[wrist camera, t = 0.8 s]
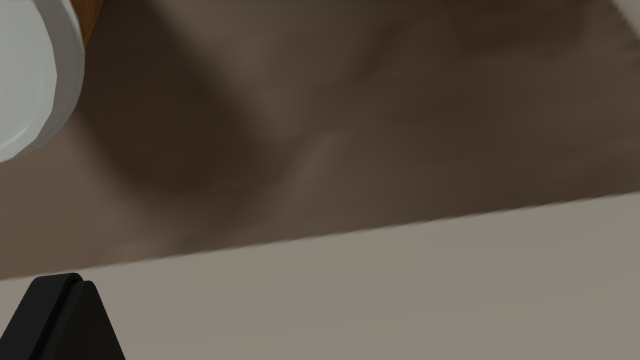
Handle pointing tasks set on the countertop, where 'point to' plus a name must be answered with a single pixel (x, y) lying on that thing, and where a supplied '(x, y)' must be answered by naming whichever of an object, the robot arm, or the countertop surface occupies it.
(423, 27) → the countertop surface
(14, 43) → the disposable coffee cup
